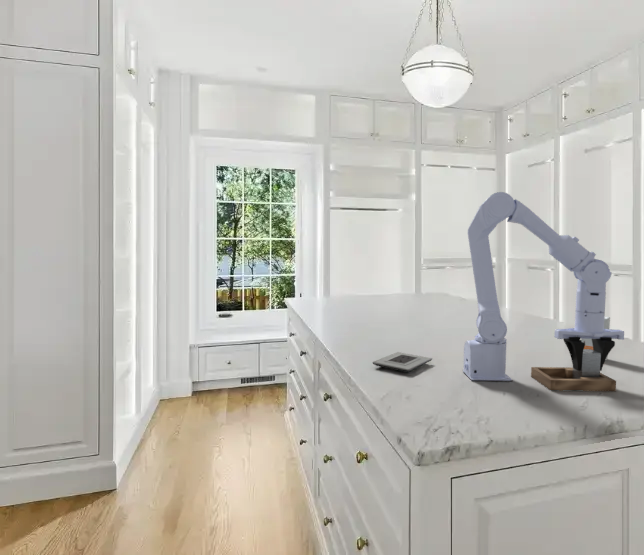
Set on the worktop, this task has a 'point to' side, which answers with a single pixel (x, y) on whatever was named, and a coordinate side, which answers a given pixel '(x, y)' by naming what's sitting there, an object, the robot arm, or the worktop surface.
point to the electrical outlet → (402, 361)
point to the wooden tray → (571, 380)
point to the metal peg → (588, 365)
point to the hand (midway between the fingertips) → (587, 369)
